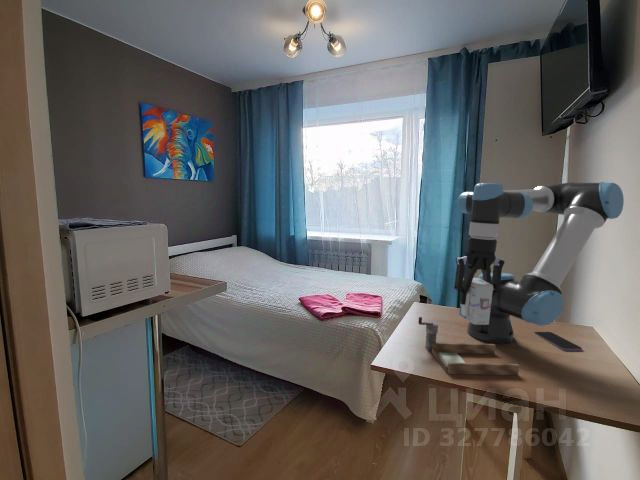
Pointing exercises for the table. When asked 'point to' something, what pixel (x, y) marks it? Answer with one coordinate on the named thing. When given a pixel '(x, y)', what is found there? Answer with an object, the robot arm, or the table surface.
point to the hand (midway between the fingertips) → (473, 315)
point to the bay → (453, 361)
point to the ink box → (479, 302)
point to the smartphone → (558, 341)
